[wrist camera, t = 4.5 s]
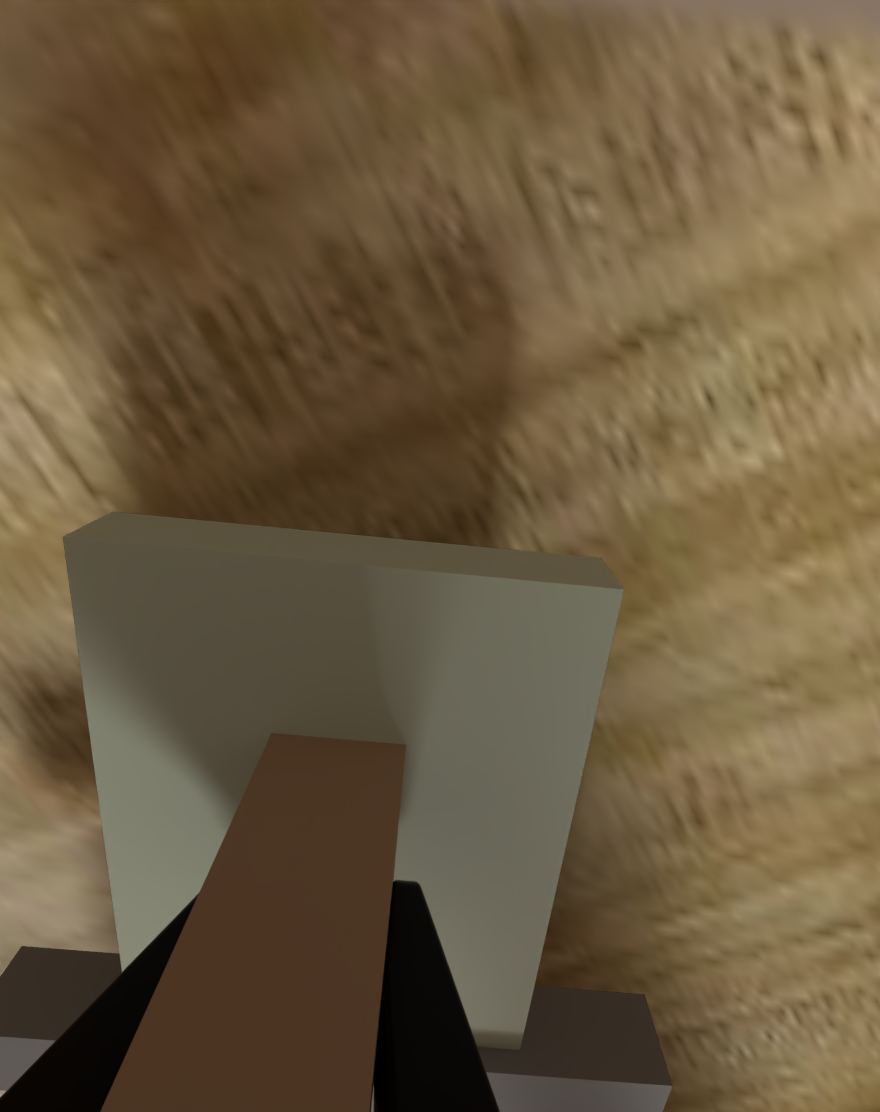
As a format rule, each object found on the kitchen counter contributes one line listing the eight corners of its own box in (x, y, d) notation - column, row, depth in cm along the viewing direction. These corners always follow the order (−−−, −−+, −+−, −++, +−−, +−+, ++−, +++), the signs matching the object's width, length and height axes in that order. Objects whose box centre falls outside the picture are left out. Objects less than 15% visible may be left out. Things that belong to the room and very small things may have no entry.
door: (780, 575, 9) (1424, 1017, 3) (628, 1042, 13) (783, 1634, 7) (-78, 493, 9) (-1202, 810, 3) (33, 998, 12) (-333, 1577, 7)
